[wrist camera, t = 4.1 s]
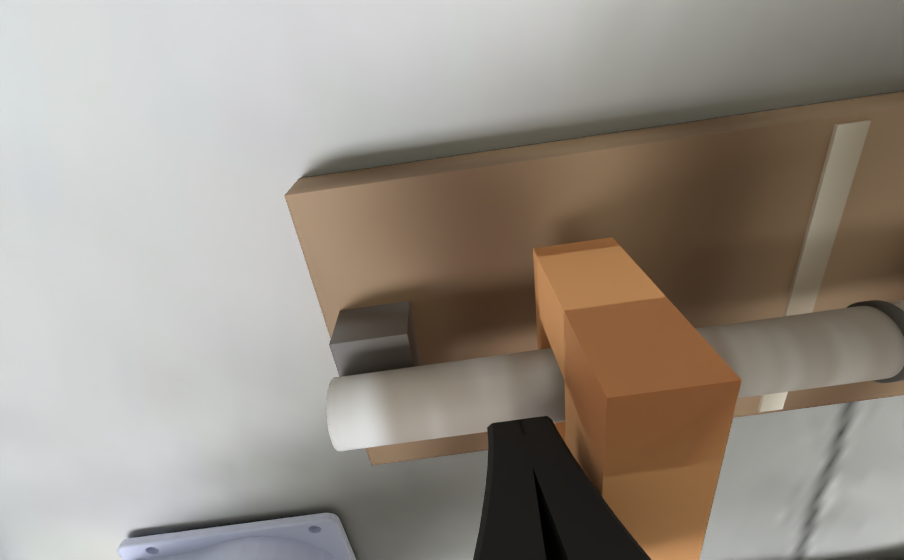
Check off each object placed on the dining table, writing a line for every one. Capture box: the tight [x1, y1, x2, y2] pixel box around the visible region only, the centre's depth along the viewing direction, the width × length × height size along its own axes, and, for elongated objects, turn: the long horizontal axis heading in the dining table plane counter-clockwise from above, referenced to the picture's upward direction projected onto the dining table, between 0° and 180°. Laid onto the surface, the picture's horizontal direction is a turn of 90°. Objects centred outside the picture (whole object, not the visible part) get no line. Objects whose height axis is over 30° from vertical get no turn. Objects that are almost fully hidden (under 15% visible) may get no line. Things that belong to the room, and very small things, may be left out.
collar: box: [533, 237, 742, 560], centre depth 10 cm, size 2×6×5 cm, turn 8°
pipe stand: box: [285, 91, 904, 465], centre depth 13 cm, size 20×10×5 cm, turn 97°
